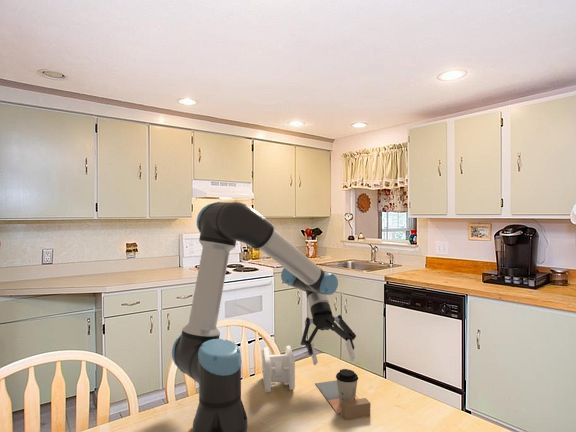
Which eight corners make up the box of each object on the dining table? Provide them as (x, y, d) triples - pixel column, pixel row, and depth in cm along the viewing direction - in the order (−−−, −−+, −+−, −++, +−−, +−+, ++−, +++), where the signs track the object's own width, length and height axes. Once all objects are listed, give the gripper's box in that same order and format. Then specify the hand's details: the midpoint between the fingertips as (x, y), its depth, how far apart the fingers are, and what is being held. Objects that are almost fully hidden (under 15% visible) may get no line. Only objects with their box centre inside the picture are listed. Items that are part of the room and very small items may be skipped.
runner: (373, 415, 112) (373, 402, 112) (342, 420, 109) (342, 407, 109) (341, 380, 134) (341, 369, 134) (315, 384, 132) (315, 372, 132)
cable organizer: (295, 394, 125) (295, 360, 124) (263, 396, 123) (263, 361, 123) (290, 374, 139) (289, 343, 139) (261, 376, 138) (261, 345, 138)
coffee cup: (362, 407, 116) (362, 375, 116) (343, 412, 113) (343, 379, 113) (350, 396, 122) (350, 366, 122) (331, 401, 120) (331, 370, 119)
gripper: (347, 308, 148) (364, 361, 133) (286, 313, 141) (297, 369, 127) (353, 298, 142) (371, 352, 128) (289, 303, 136) (301, 360, 122)
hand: (334, 361), depth 128 cm, fingers open, 13 cm apart
